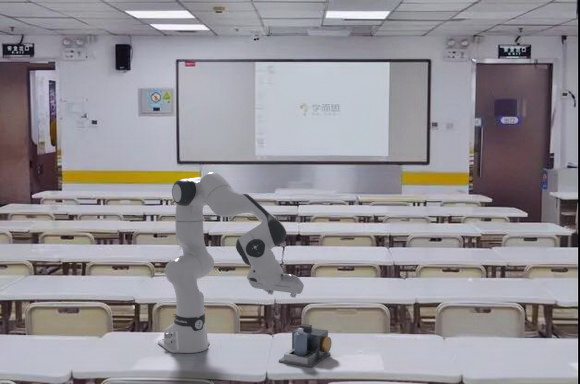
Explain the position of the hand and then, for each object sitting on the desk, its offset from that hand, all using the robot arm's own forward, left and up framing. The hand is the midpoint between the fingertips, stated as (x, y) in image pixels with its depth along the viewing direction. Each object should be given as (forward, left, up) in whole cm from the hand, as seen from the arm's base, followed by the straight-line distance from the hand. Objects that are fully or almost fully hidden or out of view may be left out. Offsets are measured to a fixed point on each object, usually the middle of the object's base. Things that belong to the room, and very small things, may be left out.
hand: (282, 294), depth 275 cm
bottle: (-4, +13, -29) cm, 32 cm away
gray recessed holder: (-5, +17, -29) cm, 34 cm away
